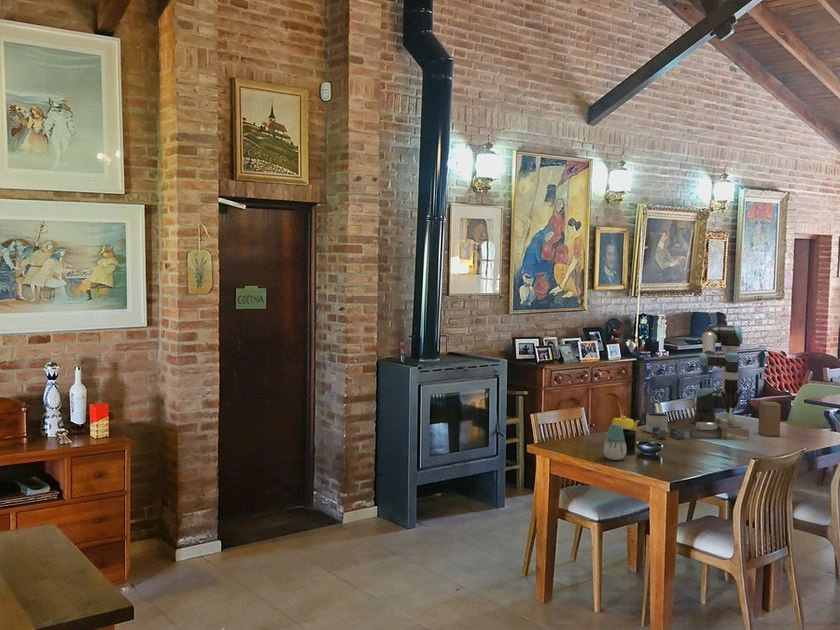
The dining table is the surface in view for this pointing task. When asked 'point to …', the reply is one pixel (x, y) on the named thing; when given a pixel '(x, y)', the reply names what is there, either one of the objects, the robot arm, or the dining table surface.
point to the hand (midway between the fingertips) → (729, 418)
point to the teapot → (625, 423)
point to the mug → (630, 440)
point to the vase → (615, 443)
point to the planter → (656, 421)
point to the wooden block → (769, 418)
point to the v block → (662, 433)
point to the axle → (709, 426)
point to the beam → (722, 432)
